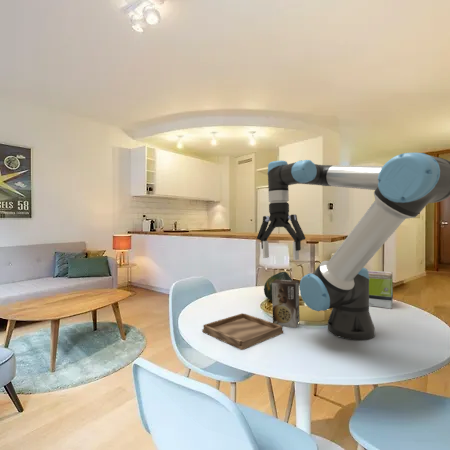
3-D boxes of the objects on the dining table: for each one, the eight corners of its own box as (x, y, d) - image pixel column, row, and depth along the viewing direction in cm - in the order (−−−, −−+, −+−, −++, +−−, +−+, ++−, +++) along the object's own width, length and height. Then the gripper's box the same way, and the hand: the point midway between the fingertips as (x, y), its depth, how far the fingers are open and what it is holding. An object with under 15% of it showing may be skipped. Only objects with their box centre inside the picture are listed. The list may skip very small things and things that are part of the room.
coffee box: (300, 322, 114) (299, 280, 114) (296, 328, 108) (296, 283, 108) (276, 319, 118) (276, 278, 117) (271, 324, 112) (271, 281, 112)
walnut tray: (283, 332, 104) (283, 326, 104) (241, 350, 91) (241, 342, 91) (243, 318, 119) (243, 313, 119) (202, 331, 106) (202, 325, 106)
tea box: (393, 303, 137) (393, 271, 137) (391, 309, 129) (391, 275, 129) (357, 299, 146) (357, 269, 145) (354, 304, 137) (353, 272, 137)
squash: (258, 285, 153) (266, 266, 143) (284, 284, 157) (294, 266, 147) (266, 310, 142) (275, 291, 133) (294, 308, 147) (305, 290, 137)
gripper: (313, 200, 108) (315, 259, 108) (259, 205, 125) (260, 256, 125) (302, 199, 102) (304, 261, 102) (247, 204, 120) (248, 257, 120)
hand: (280, 258), depth 114 cm, fingers open, 13 cm apart
